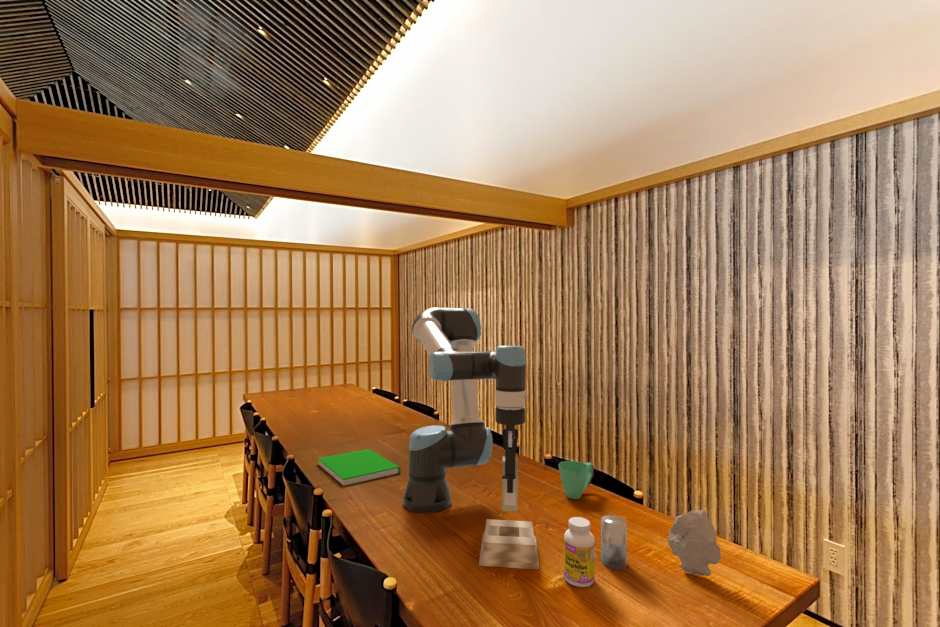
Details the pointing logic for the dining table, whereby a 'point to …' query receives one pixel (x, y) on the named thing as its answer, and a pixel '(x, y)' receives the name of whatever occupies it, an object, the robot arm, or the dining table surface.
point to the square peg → (515, 508)
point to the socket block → (509, 545)
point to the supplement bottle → (579, 553)
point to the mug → (575, 477)
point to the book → (358, 466)
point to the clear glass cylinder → (614, 542)
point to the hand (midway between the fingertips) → (509, 500)
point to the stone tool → (694, 542)
